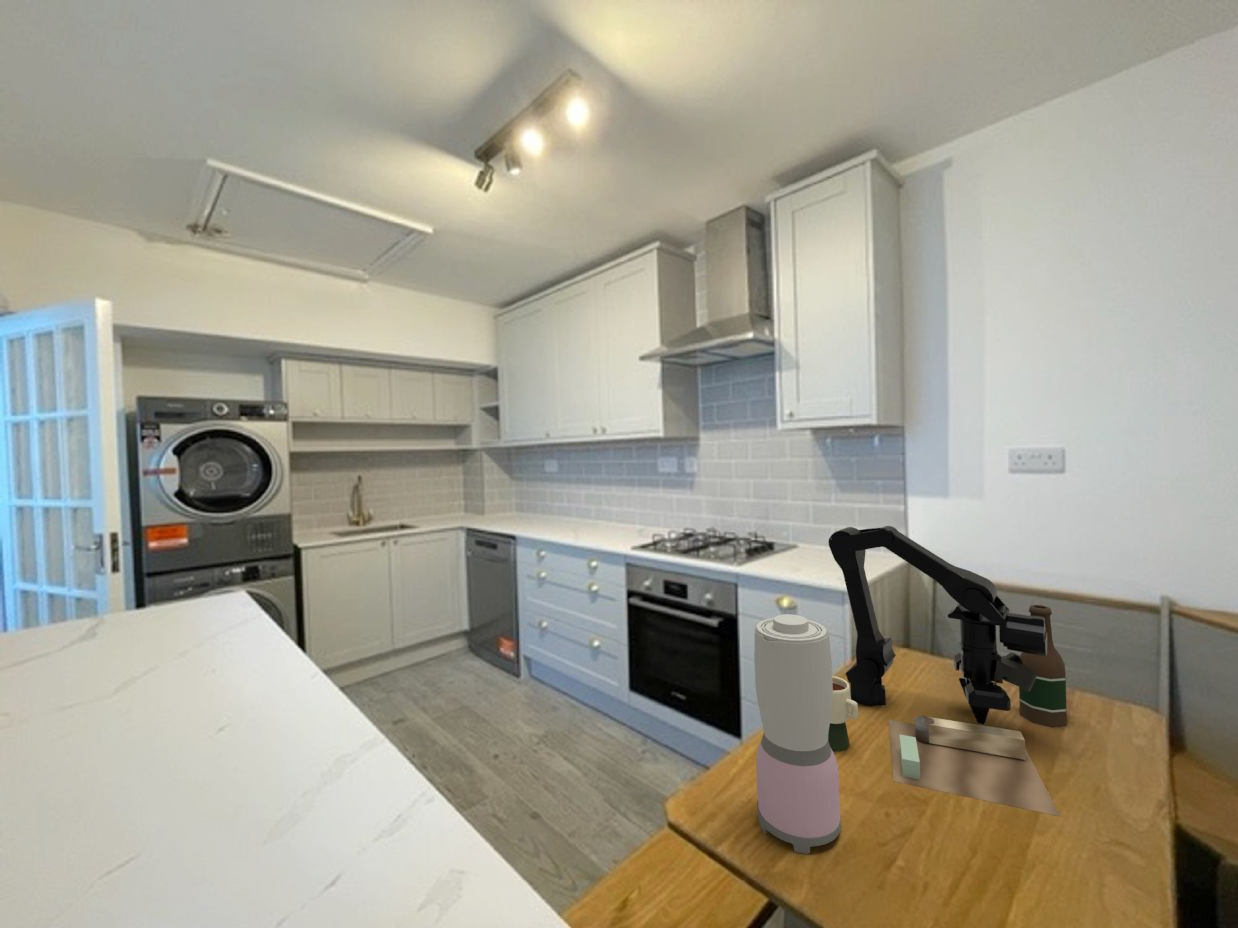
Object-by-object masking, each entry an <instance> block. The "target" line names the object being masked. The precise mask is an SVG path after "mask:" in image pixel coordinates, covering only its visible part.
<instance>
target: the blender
mask: <svg viewBox="0 0 1238 928" xmlns="http://www.w3.org/2000/svg"><path fill="white" fill-rule="evenodd" d="M830 643H831V642H830V633H829V630H828V629H827V628H826V627H825V626H824V625H823V624H820V623H819V622H817V621H813V620H810V619H807V618H806V617H805V616H803V615H799V614H791V613H786V614H785V613H784V614H778V615H776V616H774V617H771V618H767V619H763V620H761V621H759V622H758V623H757V624H756V626H755V627H754V649H753V651H754V653H753V657H754V658H753V659H754V679H755V680H754V681H755V693H756V698H757V705H758V710H759V715H760V719H761V723H762V730H763V732H762V737H761V739H760V742H759V744H758V746H757V749H756V756H755V767H756V768H755V770H756V787H757V788H756V790H757V791H756V792H757V800H756V801H757V803H756V804H757V806H756V809H757V816H758V817H757V818H758V822H759V826H760V829H761V831H762V832H763V833H764V834H768V833H770V834H771V835H773V836H775V837H776V838H777V839H780V840H781V841H783V842H786V843H789V844H792V846H793V852H795V853H798V854H804V855H806V854H807V855H809V854H811V853H810V852H811V847H820V846H824V845H826V844H829V843H831V842H833V841H834V840H835V839H837V838H838V836H839V835H840V833H841V829H842V826H841V825H842V819H841V804H840V803H841V800H840V799H841V798H840V797H841V795H840V776H839V773H840V772H839V765H838V762H837V758H836V756H835V752H834V751H832V749H831V747H830V745H829V742H828V733H829V726H830V718H831V711H832V701H833V683H832V676H833V665H832V664H833V662H832V653H831V644H830Z"/></svg>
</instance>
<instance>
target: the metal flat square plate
mask: <svg viewBox="0 0 1238 928" xmlns="http://www.w3.org/2000/svg"><path fill="white" fill-rule="evenodd" d="M887 721H888V730H889V731H888V732H889V733H888V734H889V744H890V757H891V767H892V768H891V769H892V780H893V781H892V782H893V783H894V782H895V783H899V784H904V785H909V786H913V787H919V788H923V789H928V790H933V791H937V792H942V793H946V794H952V795H955V796H961V797H966V798H971V799H976V800H980V801H985V802H989V803H993V804H999V805H1005V806H1009V807H1014V808H1018V809H1022V810H1028V811H1032V812H1033V811H1034V812H1037V813H1042V814H1047V815H1051V816H1056V817H1061V815H1060V813H1059V811H1058V809H1057V807H1056V805H1055V803H1054V802H1053V799H1052V798H1051V795H1050V793H1049V791H1048V789H1047V788H1046V786H1045V783H1044V782H1043V780H1042V778H1041V776H1040V775H1039V772H1038V770H1037V768H1036V766H1035V765H1034V762H1033V761H1032V759H1031V757H1030V754H1029V753H1028V751H1027V750H1026V748H1025V759H1026V760H1023V759H1017V758H1012V757H1006V756H1000V755H995V754H989V753H983V752H978V751H972V750H966V749H961V748H955V747H949V746H944V745H938V744H932V743H925V742H922V741H920V740H918V739H917V738H916V743H917V749H918V755H919V761H920V780H919V779H914V778H909V777H904V776H903V774H902V765H901V756H900V738H899V734H900V735H905V736H911V737H915V723H910V722H905V721H900V720H892V719H888V720H887Z"/></svg>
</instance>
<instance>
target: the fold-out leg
mask: <svg viewBox="0 0 1238 928" xmlns="http://www.w3.org/2000/svg"><path fill="white" fill-rule="evenodd" d="M914 724H915V737H916V738H917V739H918V740H920V741H922V742H925V743H932V744H938V745H944V746H949V747H955V748H961V749H966V750H972V751H978V752H983V753H989V754H995V755H1000V756H1006V757H1012V758H1017V759H1023V760H1026V759H1025V749H1026V739H1025V738H1024V735H1023V734H1022V732H1021V731H1020V730H1014V729H1013V730H1012V729H1008V728H1007V729H1006V728H1001V727H995V726H990V725H988V726H987V725H984V724H975V723H969V722H963V721H957V720H952V719H951V720H950V719H944V718H938V717H931V716H926V715H916V716H914Z"/></svg>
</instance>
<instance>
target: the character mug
mask: <svg viewBox="0 0 1238 928" xmlns="http://www.w3.org/2000/svg"><path fill="white" fill-rule="evenodd" d="M832 683H833V701H832V711H831V718H830V726H829V733H828V742H829V745H830V747H831V749H832V751H833V753H835V752H837V753H838V752H839V753H841V752H843V751H847V750H848V749H849V748H850V739H849V733H848V728H847V724H846V722H848V721H850V720H849V719H852V720H858V718H859V706H858V705H859V703H857V702H855V701H853V700H851V685H850V683H849V682H848V680H845V679H844V678H843V677H840V676H835V675H832Z"/></svg>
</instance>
